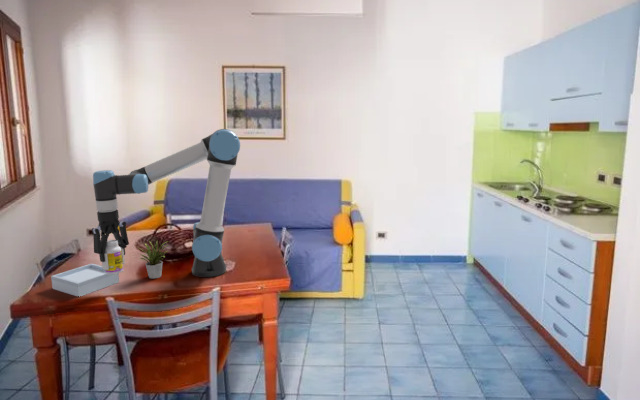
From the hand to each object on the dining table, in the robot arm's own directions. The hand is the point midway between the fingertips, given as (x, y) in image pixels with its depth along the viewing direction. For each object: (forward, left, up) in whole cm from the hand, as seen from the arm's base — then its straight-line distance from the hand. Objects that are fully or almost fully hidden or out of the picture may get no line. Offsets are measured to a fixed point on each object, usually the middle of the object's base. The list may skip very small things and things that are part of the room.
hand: (114, 266), depth 182 cm
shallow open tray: (+16, +2, -10) cm, 19 cm away
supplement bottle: (0, 0, -3) cm, 3 cm away
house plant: (-2, -20, -11) cm, 22 cm away
